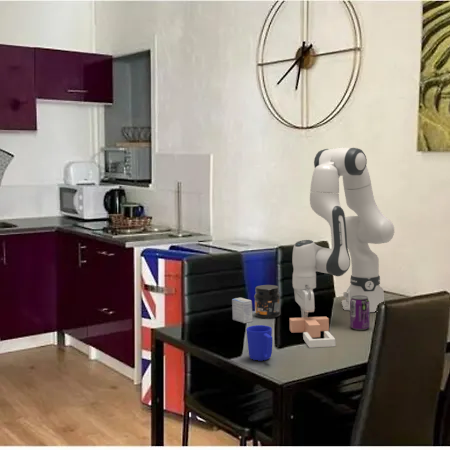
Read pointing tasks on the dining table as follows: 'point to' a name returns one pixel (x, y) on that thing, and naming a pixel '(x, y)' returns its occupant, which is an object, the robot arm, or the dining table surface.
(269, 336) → the mug
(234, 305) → the medicine box
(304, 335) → the dock
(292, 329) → the t block
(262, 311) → the supplement container
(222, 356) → the dining table surface
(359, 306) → the beverage can
